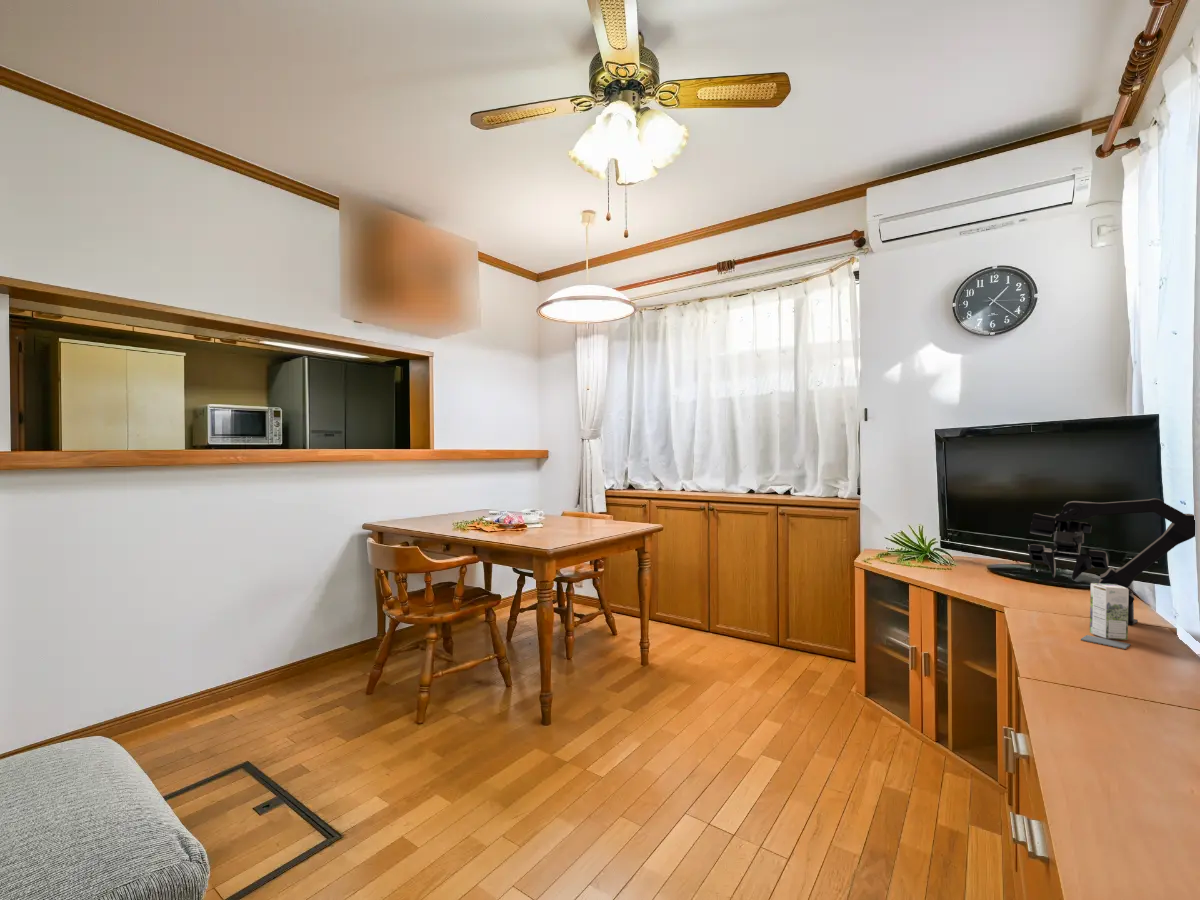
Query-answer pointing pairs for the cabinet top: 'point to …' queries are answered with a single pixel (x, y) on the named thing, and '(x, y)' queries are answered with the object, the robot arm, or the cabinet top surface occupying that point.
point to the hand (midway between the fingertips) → (1063, 577)
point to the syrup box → (1109, 611)
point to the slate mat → (1105, 641)
